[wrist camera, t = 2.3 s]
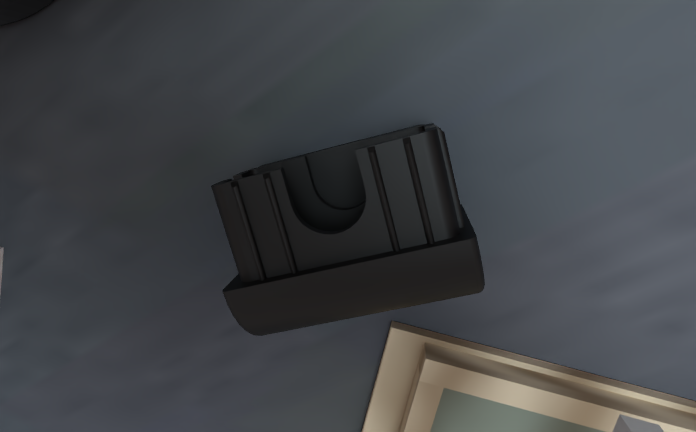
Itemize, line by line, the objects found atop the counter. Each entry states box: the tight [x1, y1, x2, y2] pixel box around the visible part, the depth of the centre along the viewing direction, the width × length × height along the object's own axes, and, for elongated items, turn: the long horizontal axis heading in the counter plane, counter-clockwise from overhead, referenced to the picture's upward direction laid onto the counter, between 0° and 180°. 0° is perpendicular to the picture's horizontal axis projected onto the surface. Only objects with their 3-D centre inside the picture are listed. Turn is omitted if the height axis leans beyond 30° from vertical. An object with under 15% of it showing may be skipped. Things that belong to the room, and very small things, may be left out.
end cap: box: [211, 123, 485, 336], centre depth 22 cm, size 10×7×7 cm
